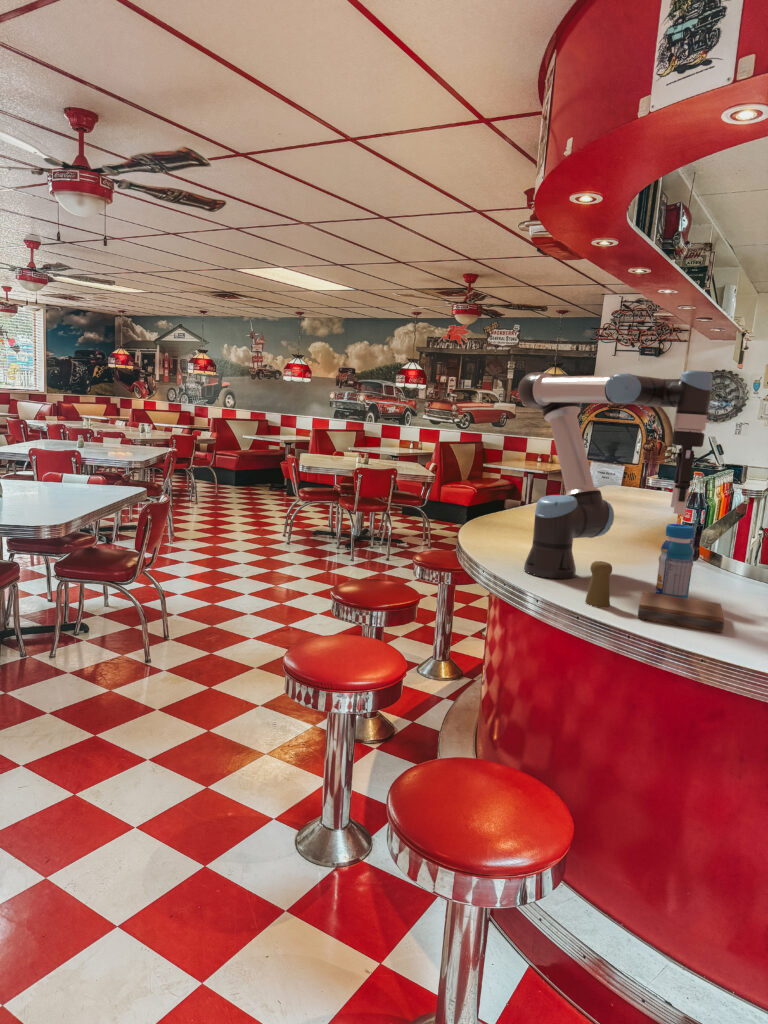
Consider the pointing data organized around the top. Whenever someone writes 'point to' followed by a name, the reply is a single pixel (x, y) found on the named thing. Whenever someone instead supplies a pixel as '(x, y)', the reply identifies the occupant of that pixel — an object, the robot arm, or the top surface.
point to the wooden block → (681, 611)
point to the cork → (599, 584)
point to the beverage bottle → (676, 561)
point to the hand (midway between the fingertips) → (677, 510)
